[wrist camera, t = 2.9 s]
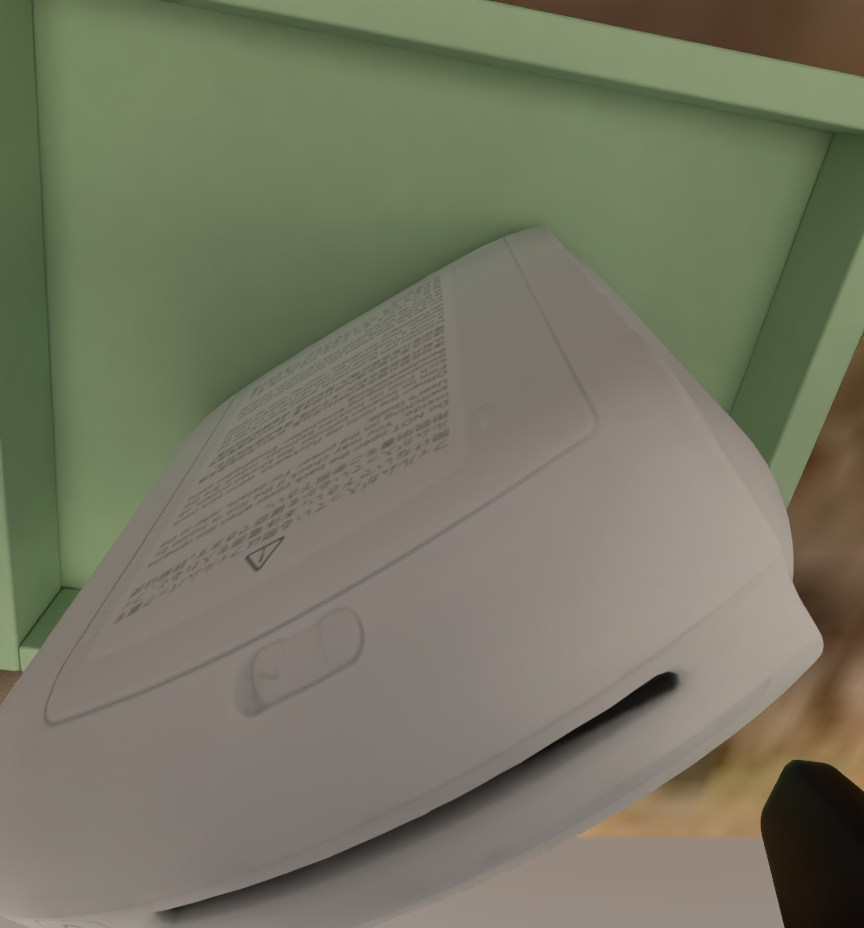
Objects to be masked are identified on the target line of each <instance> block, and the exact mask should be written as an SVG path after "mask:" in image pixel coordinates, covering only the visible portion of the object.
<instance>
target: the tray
mask: <svg viewBox="0 0 864 928" xmlns="http://www.w3.org/2000/svg"><path fill="white" fill-rule="evenodd" d="M538 225H545V226H546V227H547V228H548V229H549V230H550V231H551V232H552V234H553V235H554V236H555V237H556V238H557V239H558V241H559V242H561V243H563V244H565V245H566V246H568V247H570V248H571V249H573V250H574V251H576V252H577V253H578V254H579V255H580V256H582V257H583V258H584V260H585V261H586V262H587V263H588V264H589V265H590V266H591V267H592V268H593V269H594V270H595V271H596V272H597V273H598V274H599V276H600V277H601V278H602V279H603V280H604V281H605V282H606V283H607V284H608V285H609V286H610V287H611V288H612V289H613V290H614V291H615V293H616V294H617V295H618V296H619V297H620V298H621V299H622V300H623V301H624V302H625V303H626V304H627V305H628V306H629V307H630V308H631V310H632V311H633V312H634V313H635V314H636V315H637V316H638V317H639V318H640V320H641V321H642V322H643V323H644V324H645V325H646V326H647V327H648V328H649V329H650V330H651V331H652V332H653V334H654V335H655V336H656V337H657V338H658V339H659V340H660V341H661V342H662V343H663V344H664V346H665V347H666V348H667V349H668V350H669V351H670V352H671V353H672V354H673V356H674V357H675V358H676V359H677V360H678V361H679V362H680V363H681V364H682V365H683V366H684V367H685V368H686V369H687V370H688V371H689V373H690V374H691V375H692V376H693V377H694V378H695V379H696V380H697V381H698V382H699V383H700V384H701V386H702V387H703V388H704V389H705V390H706V391H707V392H708V393H709V394H710V396H711V397H712V398H713V399H714V400H715V401H716V402H717V403H718V404H719V405H720V406H721V407H722V408H723V410H724V411H725V412H726V413H727V414H728V415H729V416H730V417H731V418H732V419H733V420H734V422H735V423H736V424H737V425H738V426H739V427H740V428H741V430H742V431H743V432H744V433H745V434H746V435H747V437H748V438H749V439H750V440H751V441H752V442H753V444H754V445H755V447H756V448H757V450H758V451H759V453H760V454H761V456H762V457H763V459H764V460H765V462H766V463H767V465H768V467H769V469H770V471H771V473H772V475H773V477H774V479H775V481H776V483H777V486H778V488H779V491H780V493H781V496H782V498H783V502H784V505H785V509H786V510H787V507H788V505H789V503H790V500H791V498H792V496H793V493H794V491H795V489H796V486H797V484H798V482H799V479H800V477H801V475H802V473H803V470H804V468H805V466H806V463H807V461H808V459H809V456H810V454H811V452H812V449H813V447H814V445H815V442H816V440H817V438H818V435H819V433H820V431H821V428H822V426H823V424H824V421H825V419H826V417H827V414H828V412H829V410H830V407H831V405H832V403H833V400H834V398H835V396H836V393H837V391H838V389H839V386H840V384H841V382H842V380H843V377H844V375H845V373H846V370H847V368H848V366H849V363H850V361H851V359H852V356H853V354H854V352H855V349H856V347H857V345H858V342H859V340H860V338H861V335H862V333H863V331H864V77H862V76H857V75H853V74H848V73H843V72H838V71H833V70H828V69H823V68H818V67H813V66H808V65H803V64H799V63H794V62H789V61H784V60H779V59H774V58H769V57H764V56H759V55H754V54H750V53H745V52H740V51H735V50H730V49H725V48H720V47H715V46H710V45H705V44H701V43H696V42H691V41H686V40H681V39H676V38H671V37H666V36H661V35H656V34H652V33H647V32H642V31H637V30H632V29H627V28H622V27H617V26H612V25H607V24H603V23H598V22H593V21H588V20H583V19H578V18H573V17H568V16H563V15H558V14H554V13H549V12H544V11H539V10H534V9H529V8H524V7H519V6H514V5H509V4H504V3H500V2H495V1H490V0H0V669H2V670H11V671H18V670H20V669H21V671H23V672H24V671H25V669H26V668H27V666H28V665H29V663H30V662H31V660H32V659H33V658H34V656H35V655H36V654H37V652H38V651H39V650H40V648H41V647H42V645H43V644H44V642H45V641H46V639H47V638H48V636H49V635H50V633H51V632H52V631H53V629H54V628H55V626H56V625H57V624H58V622H59V621H60V619H61V618H62V616H63V615H64V613H65V612H66V610H67V609H68V608H69V606H70V605H71V603H72V602H73V601H74V599H75V598H76V596H77V595H78V593H79V592H80V591H81V589H82V588H83V587H84V585H85V584H86V583H87V581H88V580H89V578H90V577H91V575H92V574H93V572H94V571H95V569H96V568H97V566H98V565H99V564H100V562H101V561H102V560H103V558H104V557H105V555H106V554H107V552H108V551H109V549H110V548H111V547H112V545H113V544H114V542H115V541H116V539H117V538H118V536H119V535H120V534H121V532H122V531H123V529H124V528H125V526H126V525H127V524H128V522H129V521H130V519H131V518H132V516H133V515H134V513H135V512H136V510H137V509H138V507H139V506H140V505H141V503H142V502H143V500H144V499H145V498H146V496H147V495H148V493H149V492H150V490H151V489H152V487H153V486H154V485H155V483H156V482H157V480H158V479H159V477H160V476H161V474H162V473H163V471H164V470H165V469H166V467H167V466H168V464H169V463H170V461H171V460H172V458H173V457H174V455H175V454H176V452H177V451H178V449H179V448H180V446H181V445H182V443H183V442H184V441H185V439H186V438H187V437H188V436H189V434H190V433H191V432H192V431H193V430H194V429H195V428H196V427H197V426H198V425H199V424H200V423H201V422H202V421H203V420H204V419H205V418H206V417H207V416H208V415H209V414H210V413H211V412H213V411H214V410H215V409H216V408H217V407H218V406H220V405H221V404H222V403H224V402H225V401H226V400H228V399H229V398H230V397H231V396H233V395H234V394H236V393H237V392H239V391H240V390H242V389H243V388H245V387H246V386H248V385H249V384H251V383H252V382H254V381H255V380H257V379H258V378H260V377H261V376H263V375H264V374H266V373H267V372H269V371H271V370H272V369H274V368H275V367H277V366H278V365H280V364H282V363H283V362H285V361H287V360H288V359H290V358H291V357H293V356H295V355H296V354H298V353H299V352H301V351H302V350H304V349H305V348H307V347H309V346H310V345H312V344H314V343H316V342H317V341H319V340H321V339H322V338H324V337H326V336H327V335H329V334H330V333H332V332H334V331H335V330H337V329H339V328H340V327H342V326H344V325H345V324H347V323H348V322H350V321H352V320H354V319H355V318H357V317H359V316H361V315H362V314H364V313H366V312H367V311H369V310H371V309H373V308H374V307H376V306H378V305H379V304H381V303H383V302H384V301H386V300H388V299H390V298H391V297H393V296H395V295H396V294H398V293H400V292H401V291H403V290H405V289H407V288H408V287H410V286H412V285H413V284H415V283H417V282H419V281H420V280H422V279H423V278H425V277H426V276H427V275H428V274H431V273H434V272H436V271H438V270H439V269H441V268H443V267H445V266H446V265H448V264H450V263H452V262H454V261H456V260H457V259H459V258H461V257H463V256H465V255H467V254H469V253H470V252H472V251H474V250H476V249H478V248H480V247H482V246H484V245H486V244H489V243H491V242H493V241H495V240H498V239H500V238H502V237H504V236H507V235H510V234H513V233H516V232H519V231H522V230H524V229H527V228H530V227H534V226H538Z"/></svg>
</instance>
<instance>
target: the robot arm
mask: <svg viewBox="0 0 864 928" xmlns="http://www.w3.org/2000/svg"><path fill="white" fill-rule="evenodd" d="M761 832H762V837H763V842H764V846H765V850H766V854H767V858H768V862H769V866H770V870H771V874H772V878H773V882H774V886H775V890H776V894H777V898H778V902H779V907H780V911H781V915H782V919H783V923H784V927H785V928H864V791H862V790H861V789H860V788H859V787H858V786H856V785H855V784H854V783H853V782H851V781H850V780H849V779H848V778H847V777H845V776H844V775H843V774H842V773H841V772H839V771H838V770H837V769H836V768H834V767H833V766H831V765H829V764H825V763H820V762H812V761H804V760H792V761H791V762H789V763H788V764H787V765H786V766H785V767H784V769H783V771H782V773H781V775H780V777H779V779H778V780H777V782H776V784H775V786H774V788H773V790H772V792H771V794H770V796H769V798H768V800H767V802H766V804H765V806H764V808H763V810H762V815H761Z"/></svg>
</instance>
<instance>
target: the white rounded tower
mask: <svg viewBox="0 0 864 928" xmlns="http://www.w3.org/2000/svg"><path fill="white" fill-rule="evenodd" d="M793 573H794V554H793V543H792V536H791V530H790V524H789V519H788V516H787V512H786V509H785V505H784V502H783V498H782V496H781V493H780V491H779V488H778V486H777V483H776V481H775V479H774V477H773V475H772V473H771V471H770V469H769V467H768V465H767V463H766V462H765V460H764V459H763V457H762V456H761V454H760V453H759V451H758V450H757V448H756V447H755V445H754V444H753V442H752V441H751V440H750V439H749V438H748V437H747V435H746V434H745V433H744V432H743V431H742V430H741V428H740V427H739V426H738V425H737V424H736V423H735V422H734V420H733V419H732V418H731V417H730V416H729V415H728V414H727V413H726V412H725V411H724V410H723V408H722V407H721V406H720V405H719V404H718V403H717V402H716V401H715V400H714V399H713V398H712V397H711V396H710V394H709V393H708V392H707V391H706V390H705V389H704V388H703V387H702V386H701V384H700V383H699V382H698V381H697V380H696V379H695V378H694V377H693V376H692V375H691V374H690V373H689V371H688V370H687V369H686V368H685V367H684V366H683V365H682V364H681V363H680V362H679V361H678V360H677V359H676V358H675V357H674V356H673V354H672V353H671V352H670V351H669V350H668V349H667V348H666V347H665V346H664V344H663V343H662V342H661V341H660V340H659V339H658V338H657V337H656V336H655V335H654V334H653V332H652V331H651V330H650V329H649V328H648V327H647V326H646V325H645V324H644V323H643V322H642V321H641V320H640V318H639V317H638V316H637V315H636V314H635V313H634V312H633V311H632V310H631V308H630V307H629V306H628V305H627V304H626V303H625V302H624V301H623V300H622V299H621V298H620V297H619V296H618V295H617V294H616V293H615V291H614V290H613V289H612V288H611V287H610V286H609V285H608V284H607V283H606V282H605V281H604V280H603V279H602V278H601V277H600V276H599V274H598V273H597V272H596V271H595V270H594V269H593V268H592V267H591V266H590V265H589V264H588V263H587V262H586V261H585V260H584V258H583V257H582V256H580V255H579V254H578V253H577V252H576V251H574V250H573V249H571V248H570V247H568V246H566V245H565V244H563V243H561V242H559V241H558V239H557V238H556V237H555V236H554V235H553V234H552V232H551V231H550V230H549V229H548V228H547V227H546V226H545V225H538V226H534V227H530V228H527V229H524V230H522V231H519V232H516V233H513V234H510V235H507V236H504V237H502V238H500V239H498V240H495V241H493V242H491V243H489V244H486V245H484V246H482V247H480V248H478V249H476V250H474V251H472V252H470V253H469V254H467V255H465V256H463V257H461V258H459V259H457V260H456V261H454V262H452V263H450V264H448V265H446V266H445V267H443V268H441V269H439V270H438V271H436V272H434V273H431V274H428V275H427V276H426V277H425V278H423V279H422V280H420V281H419V282H417V283H415V284H413V285H412V286H410V287H408V288H407V289H405V290H403V291H401V292H400V293H398V294H396V295H395V296H393V297H391V298H390V299H388V300H386V301H384V302H383V303H381V304H379V305H378V306H376V307H374V308H373V309H371V310H369V311H367V312H366V313H364V314H362V315H361V316H359V317H357V318H355V319H354V320H352V321H350V322H348V323H347V324H345V325H344V326H342V327H340V328H339V329H337V330H335V331H334V332H332V333H330V334H329V335H327V336H326V337H324V338H322V339H321V340H319V341H317V342H316V343H314V344H312V345H310V346H309V347H307V348H305V349H304V350H302V351H301V352H299V353H298V354H296V355H295V356H293V357H291V358H290V359H288V360H287V361H285V362H283V363H282V364H280V365H278V366H277V367H275V368H274V369H272V370H271V371H269V372H267V373H266V374H264V375H263V376H261V377H260V378H258V379H257V380H255V381H254V382H252V383H251V384H249V385H248V386H246V387H245V388H243V389H242V390H240V391H239V392H237V393H236V394H234V395H233V396H231V397H230V398H229V399H228V400H226V401H225V402H224V403H222V404H221V405H220V406H218V407H217V408H216V409H215V410H214V411H213V412H211V413H210V414H209V415H208V416H207V417H206V418H205V419H204V420H203V421H202V422H201V423H200V424H199V425H198V426H197V427H196V428H195V429H194V430H193V431H192V432H191V433H190V434H189V436H188V437H187V438H186V439H185V441H184V442H183V443H182V445H181V446H180V448H179V449H178V451H177V452H176V454H175V455H174V457H173V458H172V460H171V461H170V463H169V464H168V466H167V467H166V469H165V470H164V471H163V473H162V474H161V476H160V477H159V479H158V480H157V482H156V483H155V485H154V486H153V487H152V489H151V490H150V492H149V493H148V495H147V496H146V498H145V499H144V500H143V502H142V503H141V505H140V506H139V507H138V509H137V510H136V512H135V513H134V515H133V516H132V518H131V519H130V521H129V522H128V524H127V525H126V526H125V528H124V529H123V531H122V532H121V534H120V535H119V536H118V538H117V539H116V541H115V542H114V544H113V545H112V547H111V548H110V549H109V551H108V552H107V554H106V555H105V557H104V558H103V560H102V561H101V562H100V564H99V565H98V566H97V568H96V569H95V571H94V572H93V574H92V575H91V577H90V578H89V580H88V581H87V583H86V584H85V585H84V587H83V588H82V589H81V591H80V592H79V593H78V595H77V596H76V598H75V599H74V601H73V602H72V603H71V605H70V606H69V608H68V609H67V610H66V612H65V613H64V615H63V616H62V618H61V619H60V621H59V622H58V624H57V625H56V626H55V628H54V629H53V631H52V632H51V633H50V635H49V636H48V638H47V639H46V641H45V642H44V644H43V645H42V647H41V648H40V650H39V651H38V652H37V654H36V655H35V656H34V658H33V659H32V660H31V662H30V663H29V665H28V666H27V668H26V669H25V671H24V672H23V674H22V675H21V676H20V678H19V679H18V681H17V682H16V683H15V685H14V686H13V688H12V689H11V690H10V692H9V693H8V695H7V696H6V698H5V699H4V701H3V702H2V704H1V705H0V917H4V918H7V919H10V920H12V921H15V922H18V923H20V924H23V925H25V926H27V927H28V928H367V927H370V926H374V925H377V924H380V923H382V922H385V921H388V920H391V919H393V918H396V917H399V916H402V915H404V914H407V913H410V912H412V911H415V910H418V909H420V908H423V907H426V906H428V905H431V904H433V903H436V902H438V901H441V900H443V899H446V898H448V897H451V896H453V895H456V894H458V893H460V892H463V891H465V890H468V889H470V888H472V887H474V886H476V885H479V884H481V883H483V882H485V881H487V880H490V879H492V878H494V877H496V876H498V875H501V874H503V873H505V872H507V871H510V870H511V869H514V868H516V867H518V866H520V865H522V864H524V863H526V862H528V861H530V860H532V859H534V858H536V857H537V856H540V855H542V854H543V853H545V852H547V851H549V850H551V849H553V848H555V847H557V846H559V845H561V844H563V843H565V842H567V841H568V840H570V839H572V838H574V837H576V836H577V835H579V834H581V833H583V832H584V831H586V830H588V829H590V828H592V827H593V826H595V825H597V824H599V823H600V822H602V821H604V820H606V819H608V818H609V817H611V816H613V815H615V814H616V813H618V812H620V811H622V810H624V809H625V808H627V807H629V806H630V805H632V804H633V803H635V802H636V801H638V800H639V799H641V798H643V797H644V796H646V795H647V794H649V793H650V792H652V791H653V790H655V789H656V788H658V787H659V786H661V785H662V784H664V783H666V782H667V781H669V780H670V779H672V778H673V777H675V776H676V775H678V774H679V773H681V772H682V771H684V770H685V769H687V768H689V767H690V766H692V765H693V764H694V763H696V762H697V761H699V760H700V759H701V758H703V757H704V756H705V755H707V754H708V753H709V752H711V751H712V750H713V749H715V748H716V747H718V746H719V745H720V744H722V743H723V742H724V741H726V740H727V739H728V738H730V737H731V736H733V735H734V734H735V733H737V732H738V731H739V730H740V729H741V728H743V727H744V726H745V725H746V724H748V723H749V722H750V721H751V720H752V719H754V718H755V717H756V716H757V715H759V714H760V713H761V712H762V711H764V710H765V709H766V708H767V707H768V706H769V705H771V704H772V703H773V702H774V701H775V700H776V699H777V698H779V697H780V696H781V695H782V694H783V693H784V692H785V691H787V690H788V689H789V688H790V687H791V686H792V685H793V684H794V683H795V682H796V681H797V680H798V679H799V678H800V677H801V676H802V675H803V674H804V673H805V672H806V671H807V670H808V669H809V668H810V667H811V666H812V665H813V664H814V663H815V662H816V660H817V659H818V658H819V657H820V655H821V654H822V650H823V645H824V644H823V639H822V636H821V634H820V632H819V630H818V628H817V626H816V625H815V623H814V621H813V620H812V618H811V616H810V614H809V613H808V611H807V609H806V608H805V606H804V604H803V603H802V601H801V599H800V598H799V596H798V593H797V591H796V589H795V587H794V585H793Z"/></svg>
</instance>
